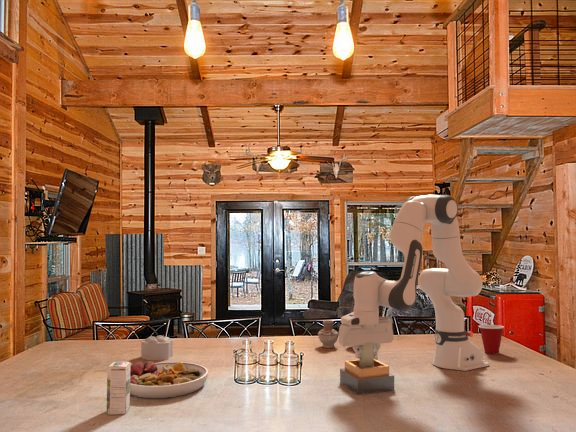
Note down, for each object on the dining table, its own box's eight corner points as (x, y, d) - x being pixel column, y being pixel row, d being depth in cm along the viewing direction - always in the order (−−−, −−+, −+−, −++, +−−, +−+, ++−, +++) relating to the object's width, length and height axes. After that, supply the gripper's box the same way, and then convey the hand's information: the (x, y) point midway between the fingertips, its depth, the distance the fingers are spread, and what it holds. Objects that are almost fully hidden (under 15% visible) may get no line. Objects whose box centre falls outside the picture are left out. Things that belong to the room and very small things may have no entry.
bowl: (222, 379, 189) (222, 357, 189) (180, 406, 161) (180, 381, 161) (152, 372, 199) (152, 351, 199) (101, 396, 170) (101, 372, 170)
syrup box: (111, 408, 158) (111, 361, 158) (130, 407, 158) (130, 361, 159) (106, 415, 152) (106, 366, 153) (126, 414, 153) (126, 366, 153)
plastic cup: (496, 349, 232) (495, 322, 232) (509, 354, 221) (509, 327, 222) (473, 349, 230) (473, 323, 231) (486, 355, 220) (486, 328, 220)
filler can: (369, 364, 182) (369, 334, 182) (376, 368, 177) (376, 336, 177) (357, 366, 180) (356, 335, 181) (363, 369, 176) (363, 337, 176)
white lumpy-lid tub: (166, 360, 214) (166, 340, 215) (137, 360, 216) (137, 339, 216) (174, 354, 225) (174, 334, 225) (146, 353, 226) (146, 334, 226)
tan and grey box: (374, 378, 188) (374, 356, 188) (394, 390, 174) (394, 366, 175) (340, 382, 183) (340, 360, 183) (357, 394, 170) (357, 370, 170)
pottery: (317, 344, 244) (317, 319, 244) (370, 344, 242) (370, 319, 242) (317, 349, 233) (317, 323, 233) (372, 350, 231) (372, 324, 231)
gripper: (387, 314, 186) (387, 352, 185) (336, 318, 179) (336, 357, 179) (396, 317, 180) (396, 356, 179) (344, 321, 173) (344, 361, 173)
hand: (366, 357), depth 179 cm, fingers closed on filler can, 5 cm apart
